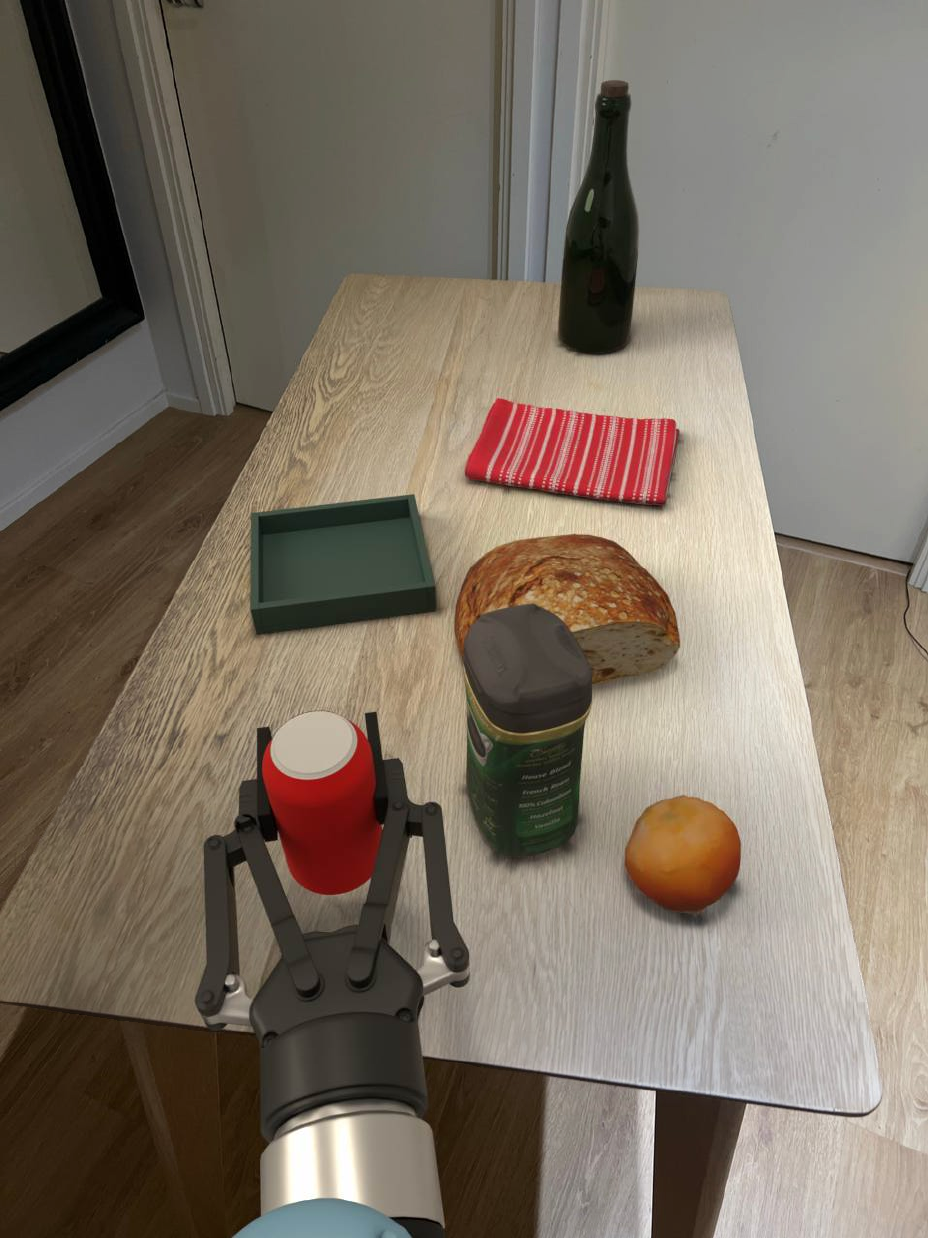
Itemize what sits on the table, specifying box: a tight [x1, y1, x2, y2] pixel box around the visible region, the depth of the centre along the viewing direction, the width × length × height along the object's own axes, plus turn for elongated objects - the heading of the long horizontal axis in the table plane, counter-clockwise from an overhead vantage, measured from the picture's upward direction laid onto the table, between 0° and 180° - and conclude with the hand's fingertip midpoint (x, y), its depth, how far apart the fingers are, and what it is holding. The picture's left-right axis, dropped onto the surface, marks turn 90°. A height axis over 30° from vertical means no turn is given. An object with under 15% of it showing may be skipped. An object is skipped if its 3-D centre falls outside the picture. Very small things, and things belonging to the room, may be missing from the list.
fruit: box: [624, 794, 742, 919], centre depth 64 cm, size 8×8×8 cm
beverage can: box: [262, 710, 383, 896], centre depth 53 cm, size 6×6×12 cm
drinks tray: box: [249, 493, 437, 635], centre depth 91 cm, size 18×16×3 cm
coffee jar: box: [462, 603, 593, 859], centre depth 64 cm, size 10×8×19 cm
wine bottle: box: [557, 79, 640, 354], centre depth 119 cm, size 10×10×33 cm
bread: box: [453, 533, 681, 685], centre depth 82 cm, size 20×18×10 cm
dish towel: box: [464, 397, 680, 506], centre depth 106 cm, size 17×24×3 cm
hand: (319, 734), depth 56 cm, fingers closed on beverage can, 6 cm apart
